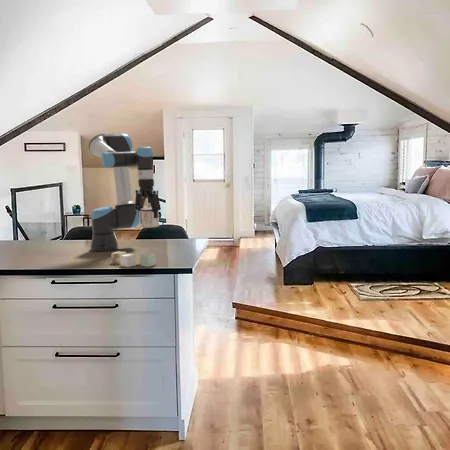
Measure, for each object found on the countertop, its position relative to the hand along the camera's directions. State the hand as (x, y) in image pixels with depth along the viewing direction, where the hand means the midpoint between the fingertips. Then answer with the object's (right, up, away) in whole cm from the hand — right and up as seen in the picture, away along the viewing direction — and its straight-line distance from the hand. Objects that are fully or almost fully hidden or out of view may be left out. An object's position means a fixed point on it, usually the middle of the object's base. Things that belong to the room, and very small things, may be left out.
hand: (148, 224), depth 257 cm
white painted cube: (-7, -20, -13) cm, 24 cm away
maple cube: (-13, -19, -6) cm, 24 cm away
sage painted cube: (+2, -20, -14) cm, 24 cm away
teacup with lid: (0, -2, 0) cm, 2 cm away
